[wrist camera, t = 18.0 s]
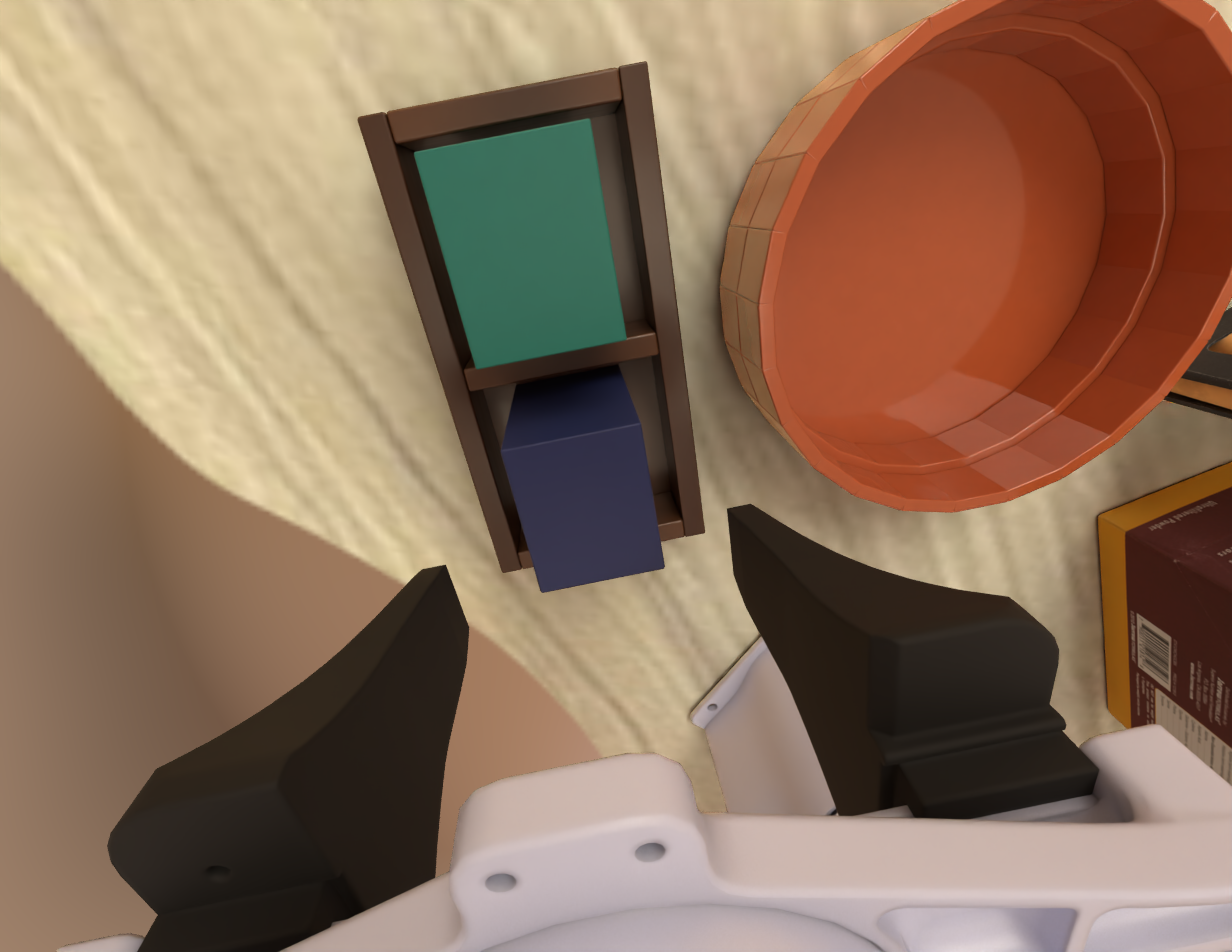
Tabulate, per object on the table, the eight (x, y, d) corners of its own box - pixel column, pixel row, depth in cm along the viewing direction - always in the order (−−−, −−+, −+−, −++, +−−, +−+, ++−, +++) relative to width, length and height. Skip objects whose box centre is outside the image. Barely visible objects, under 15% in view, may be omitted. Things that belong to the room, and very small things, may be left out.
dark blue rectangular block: (545, 498, 24) (541, 594, 18) (515, 384, 22) (499, 450, 16) (639, 480, 24) (665, 569, 18) (618, 364, 22) (641, 422, 16)
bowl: (1075, 420, 25) (1187, 466, 21) (734, 488, 25) (773, 549, 21) (1160, -19, 18) (1354, -92, 14) (695, 70, 18) (740, 26, 14)
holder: (508, 533, 25) (502, 574, 22) (386, 130, 18) (355, 116, 15) (689, 497, 25) (705, 533, 22) (633, 83, 18) (647, 60, 16)
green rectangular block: (499, 324, 21) (475, 370, 15) (458, 169, 18) (412, 152, 13) (607, 302, 21) (627, 340, 15) (579, 145, 18) (590, 117, 13)
